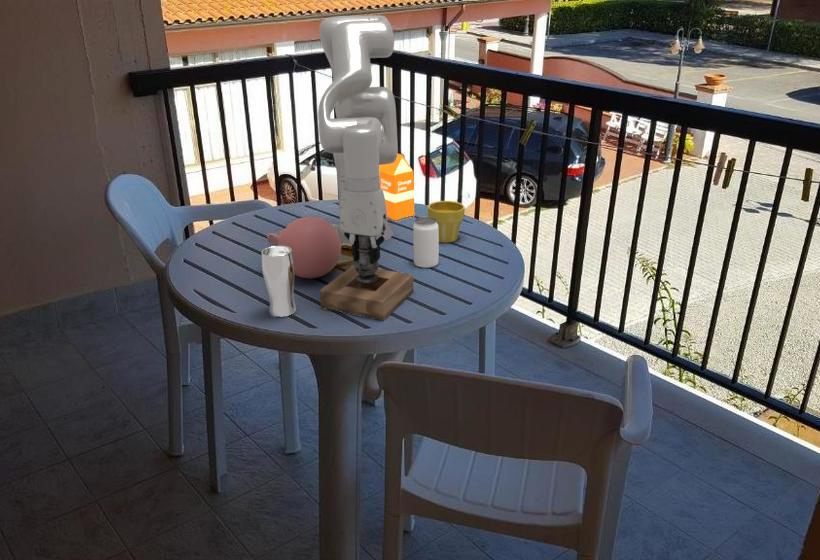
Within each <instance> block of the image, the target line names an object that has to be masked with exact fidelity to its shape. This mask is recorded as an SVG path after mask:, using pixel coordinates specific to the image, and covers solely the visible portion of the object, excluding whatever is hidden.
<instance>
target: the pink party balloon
mask: <svg viewBox="0 0 820 560" xmlns="http://www.w3.org/2000/svg"><path fill="white" fill-rule="evenodd" d="M331 224H332V223H330V222H328V221H327V220H325V219H323V218H320V217H316V216H304V217H300V218H297V219H295V220H293V221H292V222H290V223H289V224H288V225H287V226H285V228H284V229H280V230H278V231H276V232H270V233H267V234H266V238H267V241H268V243H269V244H272V246H287V247H290V248H291V249H292V255H293V260H294V267H295V276H298V277H300V278H302V279H317V278H321V277H323V276H326V275H327V274H329V272H331V271H332V270H333V269H334V268H335V267H336V266H337V264H338V262H339V259H340V257H341V253H342V247H341V242H340V238H339V235H338V233H337V231H336V230H335V229H334V227H333V226H332V225H331Z"/></svg>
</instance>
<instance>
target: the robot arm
mask: <svg viewBox="0 0 820 560" xmlns="http://www.w3.org/2000/svg"><path fill="white" fill-rule="evenodd" d="M318 30H319V31H318V32H319V40H320V43H321V46H322V49H323V51H324V53H325V56H326V59H327V61H328V63H329V65H330V68H331V73H332V83H331V84H330V85H329V86H328V87H327V88H326V90H325V91H324V93H323V94H322V96H321V98H320V101H319V104H318V110H317V111H318V112H317V117H318V121H317V122H318V133H319V134H318V135H319V142H320V145H321V147H322V149H323V150H324V151H325V152H327V153H329V154H332V155H333V159H334V164H335V169H336V176H337V177H336V179H337V190H338V192H337V193H338V206H339V224H337V223H330V224H331V225H332V226H333V227H334V229H335V230H336V231H337V233H338V235H339V238H340V242H341V245H349V246H352V250H351V254H352V255H351V256H352V258H353V261H354V262H356V261H358V260H359V250H358V247H359V235H363V236H370V239H371V245H372V247H371V248H370V263H371V264H375V263H376V262H377V261H378V262H379V260H380V258H381V245H382V244H383V243H384V241H387V240H389V239H391V238H392V237H393V236H394V232H393V230H392V229H391V227H390V226H389V223H388V222H389V221H388V220H389V219H388V218H387V208H386V201H385V197H384V193H383V189H382V188H380V172H379V165H388V164H392V163H394V162H395V161H396V159H397V154H399V153H398V151H399V147H398V126H397V125H398V124H397V109H396V101H395V95H394V93H393V92H392V89H390V88H388V87H385V86H371V85H372V83H373V82H372V81H373V75H372V66H371V65H372V64H371V59H377V58H379V59H380V58H383V59H384V58H389V57H391V56H392V54H393V53H394V49H395V48H394V47H395V36H394V35H395V34H394V32H393V27H392V25H391V23H390V21H389V20H388V19H387V17H386V16H384V15H377V14H376V15H374V14H373V15H341V16H340V15H338V16H331V17H327V18H325V19H323V20H321V22H320V24H319V28H318ZM370 86H371V87H370ZM334 109H335V110H334ZM333 110H334V111H335V116H336V118H331V113H332V112H333ZM382 233H383V234H382Z"/></svg>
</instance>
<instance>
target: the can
mask: <svg viewBox="0 0 820 560" xmlns="http://www.w3.org/2000/svg"><path fill="white" fill-rule="evenodd" d="M412 228H413V229H412V230H413V231H412V232H413V264H414V265H415V266H416V267H418V268H421V269H431V268H434V267H436V266H438V264H439V257H440V256H439V244H440V242H439V231H438V224H437V220H436V219H435V218H432V217H428V216H420V217H417V218H416V219H414V224H413V227H412Z"/></svg>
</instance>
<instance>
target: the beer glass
mask: <svg viewBox="0 0 820 560" xmlns="http://www.w3.org/2000/svg"><path fill="white" fill-rule="evenodd" d="M261 267H262V269H261V270H262V275H263V281H264V283H265V286H266V289H267V290H266V291H267V292H268V296H269V314H270V313H271V314H272V315H274V316H280V317H283V316H289V315H291V314H293V313H294V312H295V311H296V309H297V307H296V302H295V297H294V289H295V279H296V278H295V277H296V275H295V267H294V260H293V255H292V249H291V248H290V247H287V246H277V245H272V246H268V247H266V248H264V249H262V250H261ZM296 312H297V311H296Z"/></svg>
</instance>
